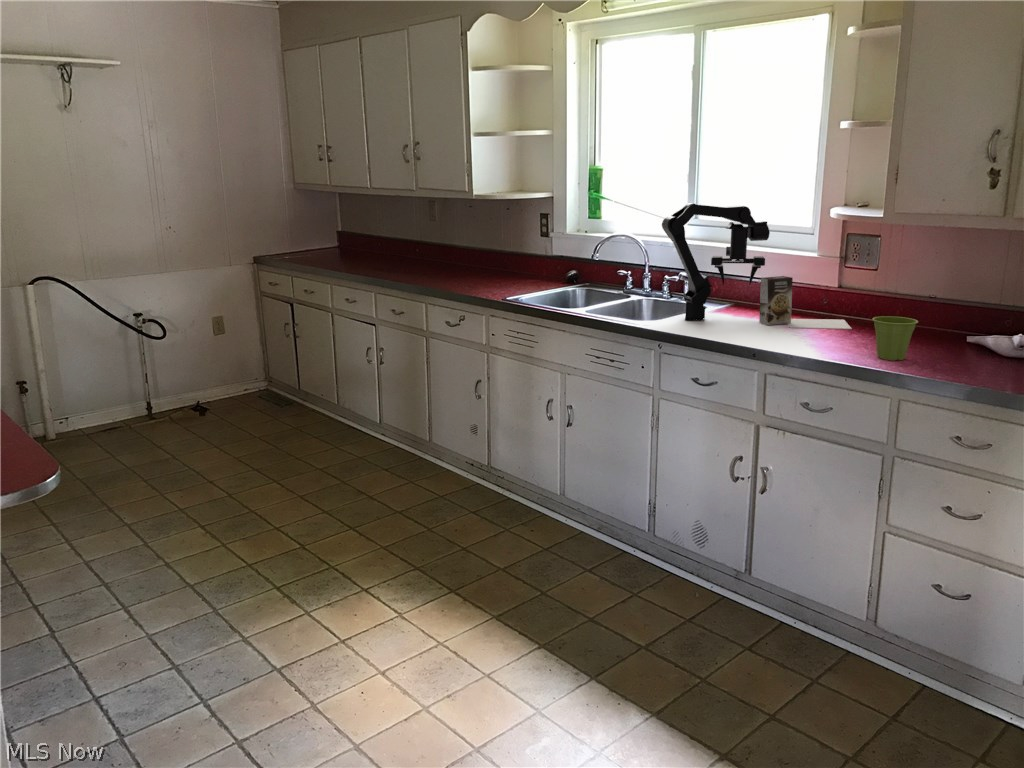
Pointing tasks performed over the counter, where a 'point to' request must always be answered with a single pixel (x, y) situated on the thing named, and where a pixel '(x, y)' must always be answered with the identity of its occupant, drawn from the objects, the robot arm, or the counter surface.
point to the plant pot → (893, 336)
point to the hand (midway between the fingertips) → (736, 284)
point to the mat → (819, 324)
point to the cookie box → (775, 300)
